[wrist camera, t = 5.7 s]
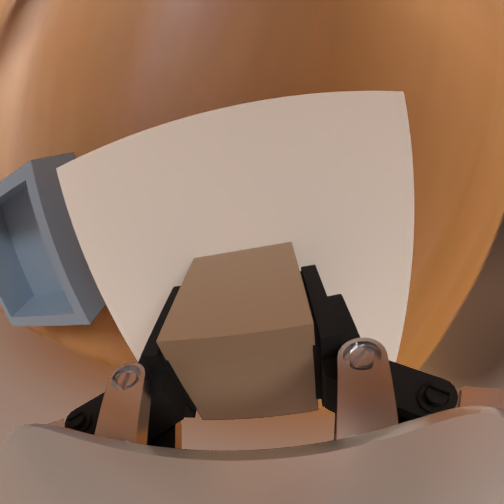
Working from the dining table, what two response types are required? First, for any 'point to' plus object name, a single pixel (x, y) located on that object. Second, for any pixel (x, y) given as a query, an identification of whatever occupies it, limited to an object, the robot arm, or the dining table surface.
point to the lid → (251, 238)
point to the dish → (42, 251)
